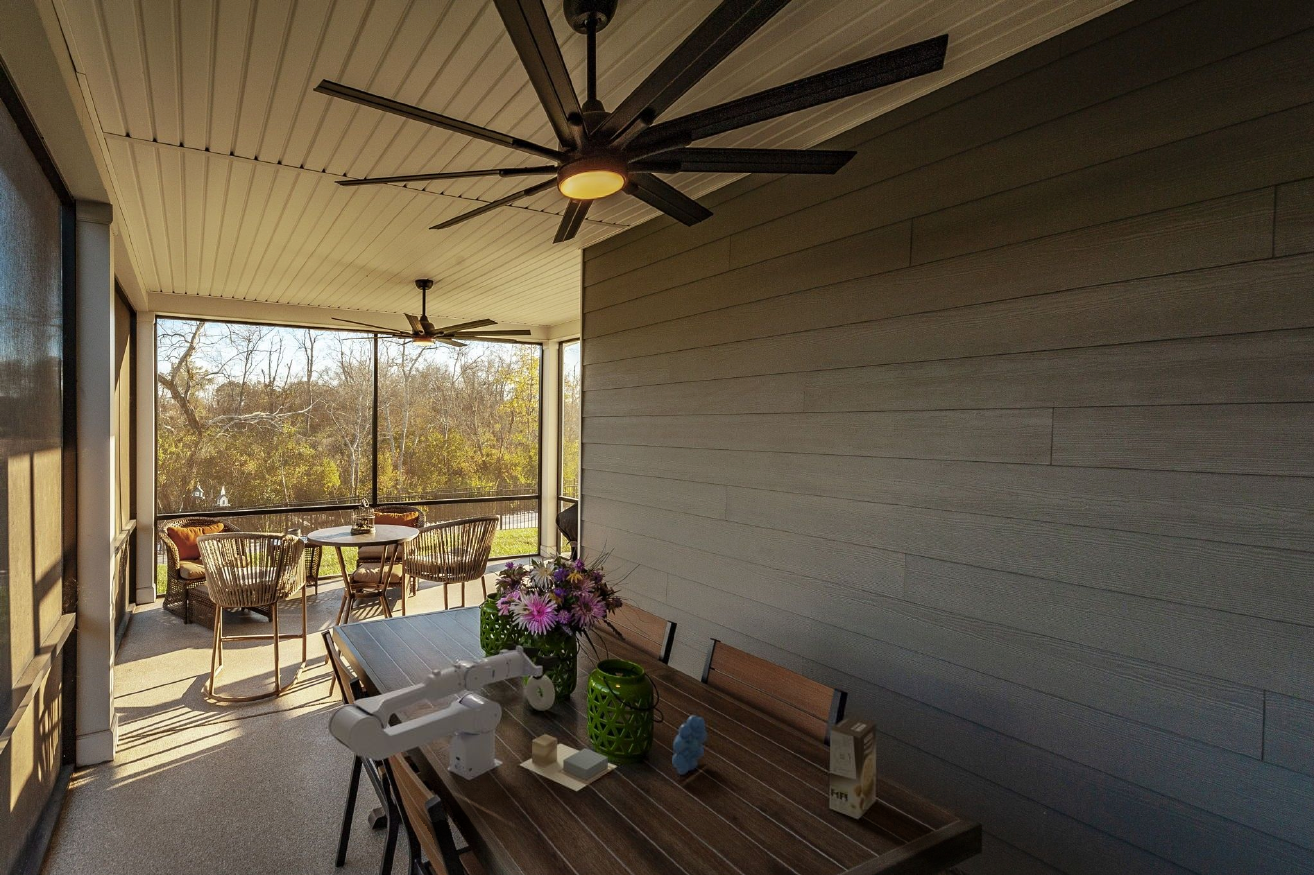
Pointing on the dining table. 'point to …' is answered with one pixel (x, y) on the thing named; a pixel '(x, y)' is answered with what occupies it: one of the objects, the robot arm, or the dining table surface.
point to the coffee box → (852, 766)
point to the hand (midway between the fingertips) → (547, 656)
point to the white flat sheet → (556, 769)
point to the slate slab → (585, 764)
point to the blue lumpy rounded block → (689, 744)
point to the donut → (547, 691)
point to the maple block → (544, 750)
